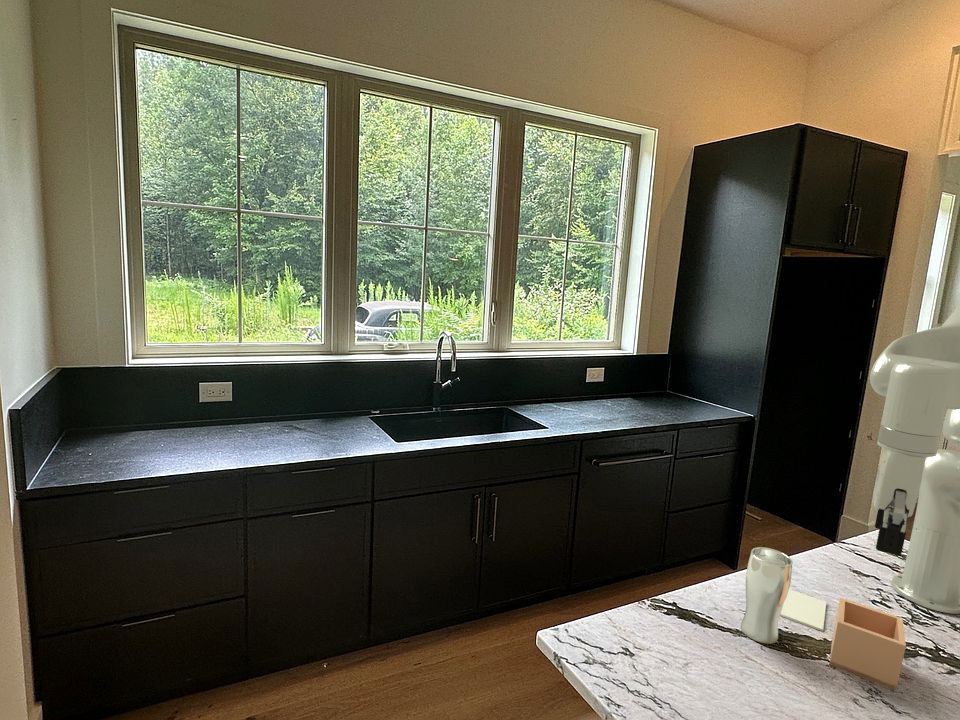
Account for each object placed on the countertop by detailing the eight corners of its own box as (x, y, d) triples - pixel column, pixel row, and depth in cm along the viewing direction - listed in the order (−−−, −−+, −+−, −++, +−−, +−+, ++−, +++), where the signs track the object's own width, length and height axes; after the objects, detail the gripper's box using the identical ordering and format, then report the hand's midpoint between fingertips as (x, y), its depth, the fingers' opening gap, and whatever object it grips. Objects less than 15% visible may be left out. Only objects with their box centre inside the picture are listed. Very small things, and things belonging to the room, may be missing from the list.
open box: (832, 637, 99) (839, 597, 98) (893, 660, 94) (902, 618, 93) (829, 665, 92) (837, 622, 91) (896, 691, 87) (905, 645, 86)
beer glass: (786, 649, 95) (800, 569, 93) (743, 641, 97) (756, 563, 94) (773, 624, 102) (786, 550, 99) (733, 617, 103) (745, 543, 101)
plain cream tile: (765, 583, 116) (765, 581, 116) (826, 603, 110) (826, 602, 110) (757, 607, 107) (757, 605, 107) (822, 631, 101) (823, 629, 101)
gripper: (877, 424, 96) (859, 516, 99) (879, 447, 82) (858, 553, 84) (932, 434, 92) (911, 529, 94) (944, 460, 77) (920, 571, 80)
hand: (886, 540), depth 89 cm, fingers open, 9 cm apart
